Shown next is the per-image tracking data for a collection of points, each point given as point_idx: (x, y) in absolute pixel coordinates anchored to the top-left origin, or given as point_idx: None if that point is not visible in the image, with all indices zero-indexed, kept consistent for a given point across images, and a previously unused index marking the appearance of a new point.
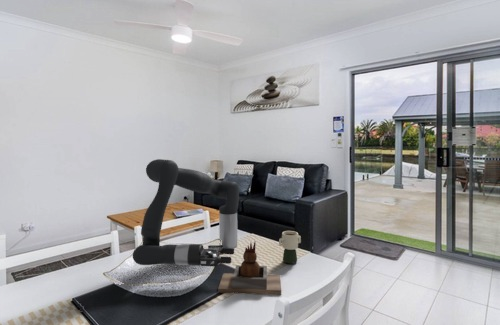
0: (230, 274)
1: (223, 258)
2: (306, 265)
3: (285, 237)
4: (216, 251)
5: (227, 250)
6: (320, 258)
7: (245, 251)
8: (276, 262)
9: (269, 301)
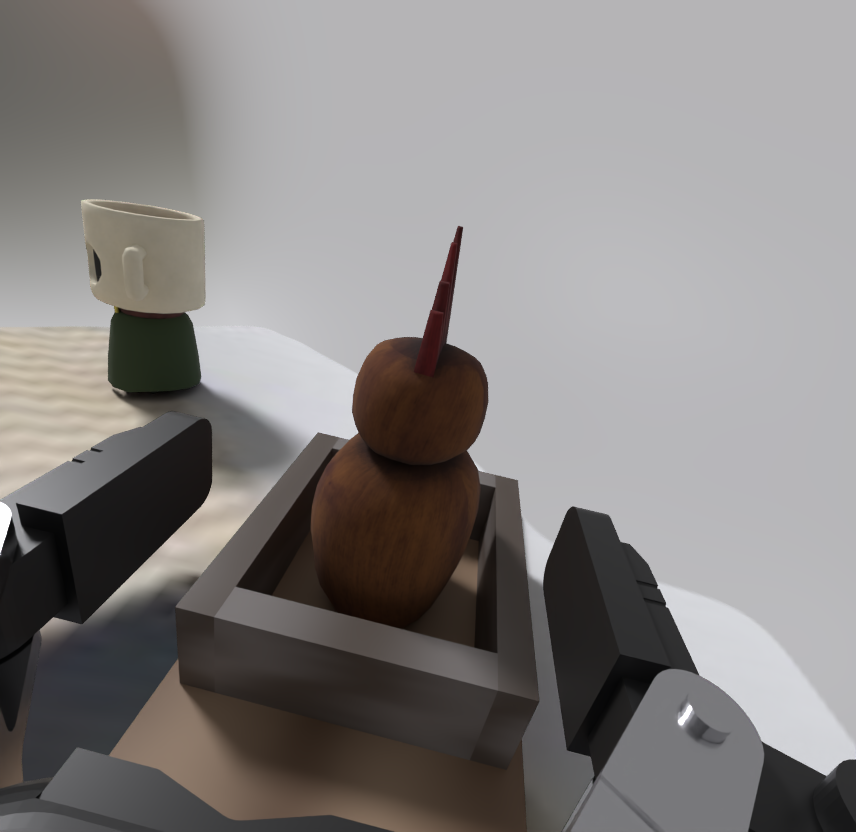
0: (142, 758)
1: (640, 623)
2: (238, 368)
3: (164, 236)
4: (125, 771)
5: (127, 504)
6: (202, 331)
7: (435, 362)
8: (107, 417)
9: None
